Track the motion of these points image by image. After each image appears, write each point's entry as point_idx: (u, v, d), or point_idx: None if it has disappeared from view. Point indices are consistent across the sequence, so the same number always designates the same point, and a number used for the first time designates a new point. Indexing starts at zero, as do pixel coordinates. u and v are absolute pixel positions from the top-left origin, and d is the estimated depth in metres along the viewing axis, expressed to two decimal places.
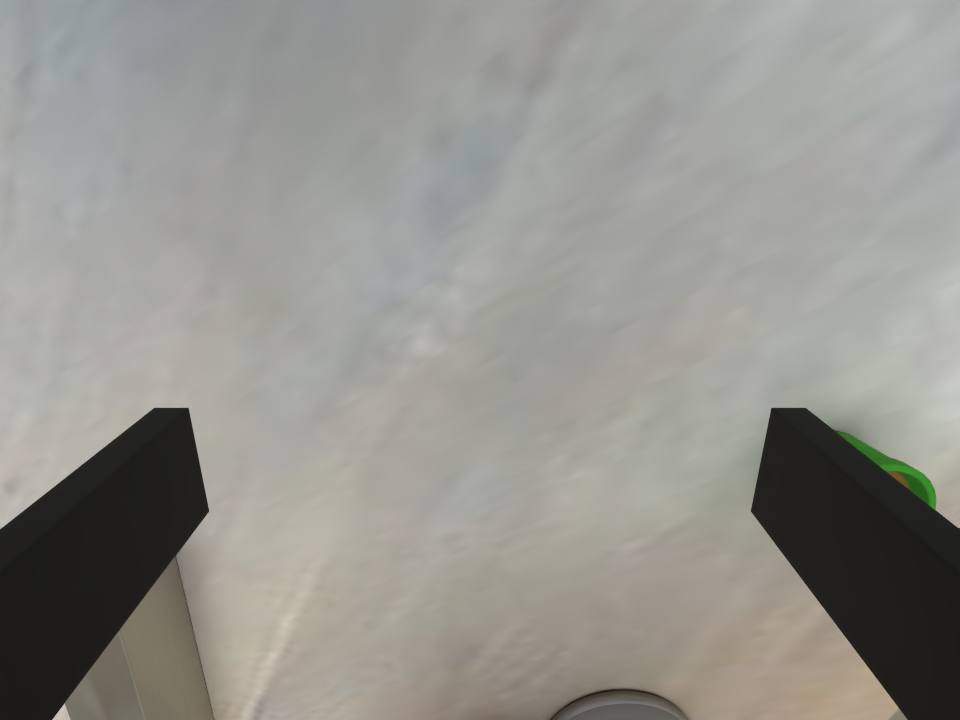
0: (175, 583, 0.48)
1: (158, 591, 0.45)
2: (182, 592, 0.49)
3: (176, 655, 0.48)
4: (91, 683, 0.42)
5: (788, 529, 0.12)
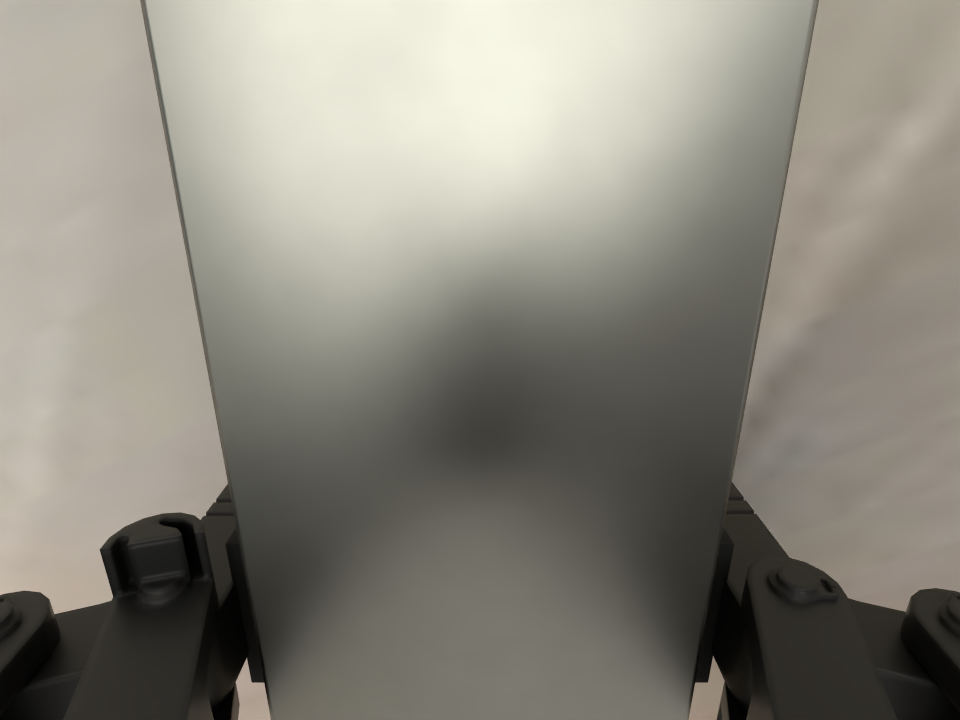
0: None
1: None
2: None
3: None
4: None
5: None
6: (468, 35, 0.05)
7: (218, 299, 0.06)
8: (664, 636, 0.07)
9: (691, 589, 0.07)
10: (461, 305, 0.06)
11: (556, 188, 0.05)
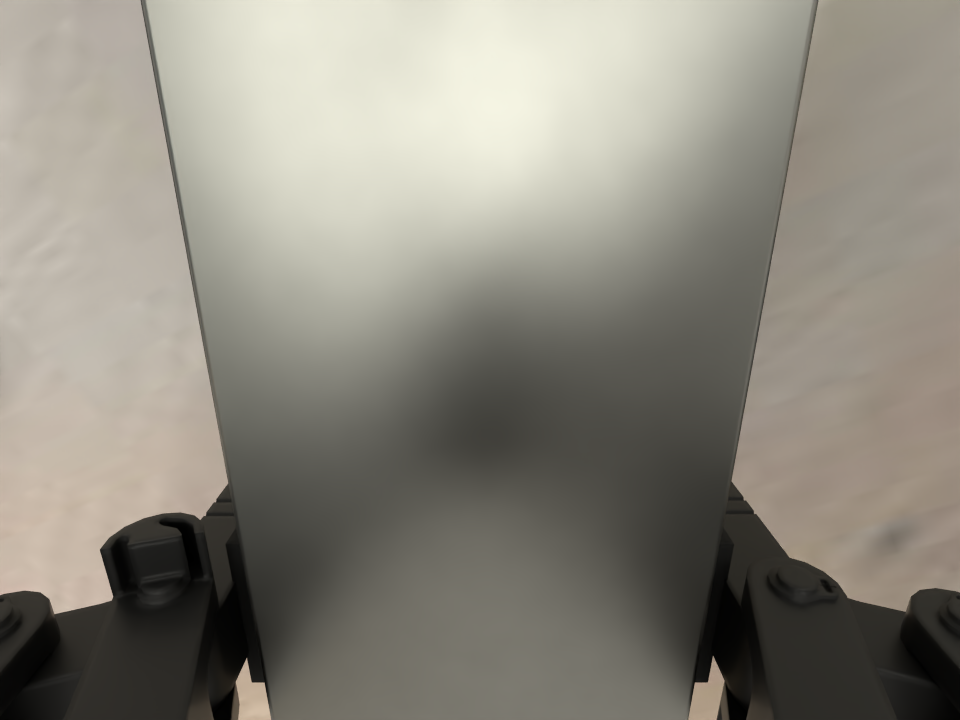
0: None
1: None
2: None
3: None
4: None
5: None
6: (468, 34, 0.05)
7: (218, 298, 0.06)
8: (664, 636, 0.07)
9: (691, 588, 0.07)
10: (461, 304, 0.06)
11: (555, 189, 0.05)
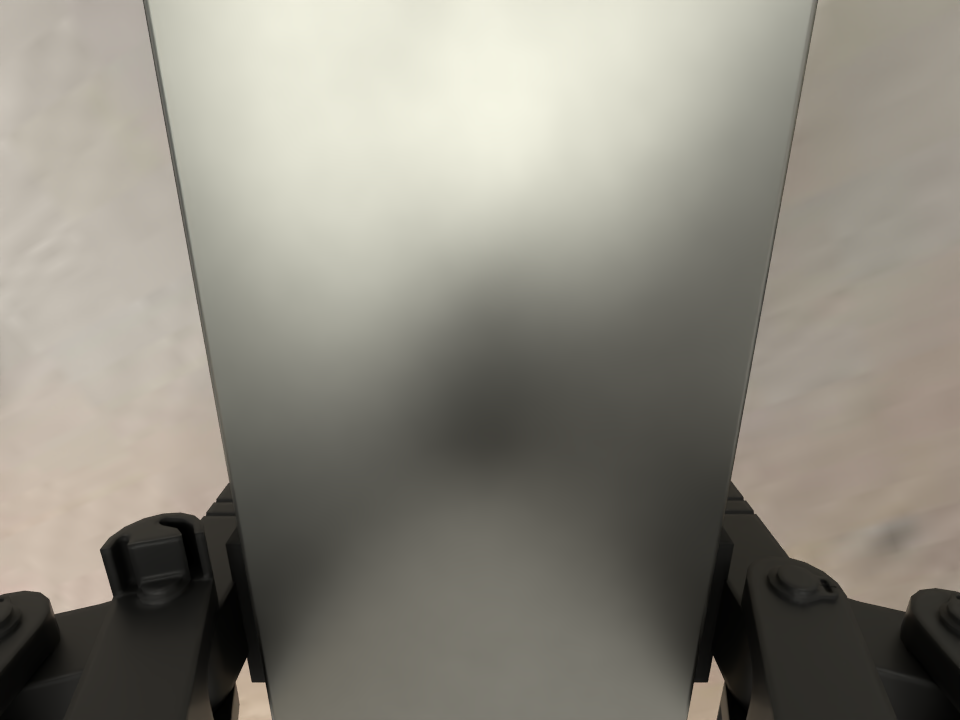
0: None
1: None
2: None
3: None
4: None
5: None
6: (469, 34, 0.05)
7: (220, 297, 0.06)
8: (664, 634, 0.07)
9: (690, 587, 0.07)
10: (462, 302, 0.06)
11: (556, 187, 0.05)
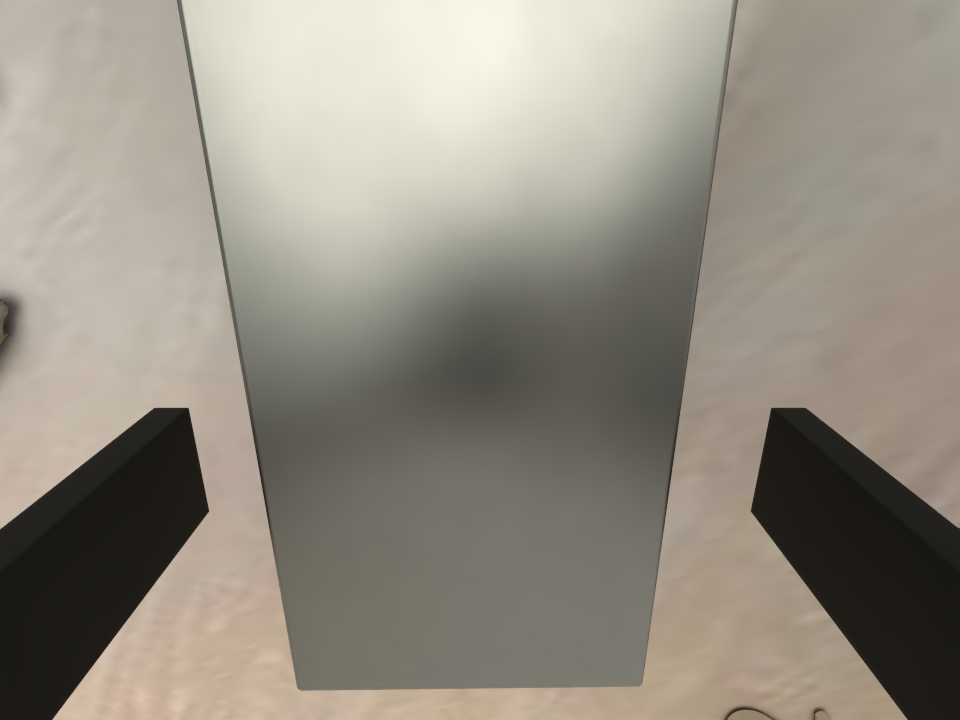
0: None
1: None
2: None
3: None
4: None
5: (788, 529, 0.12)
6: None
7: (228, 174, 0.06)
8: (633, 499, 0.08)
9: (655, 452, 0.08)
10: (445, 177, 0.06)
11: (526, 67, 0.06)
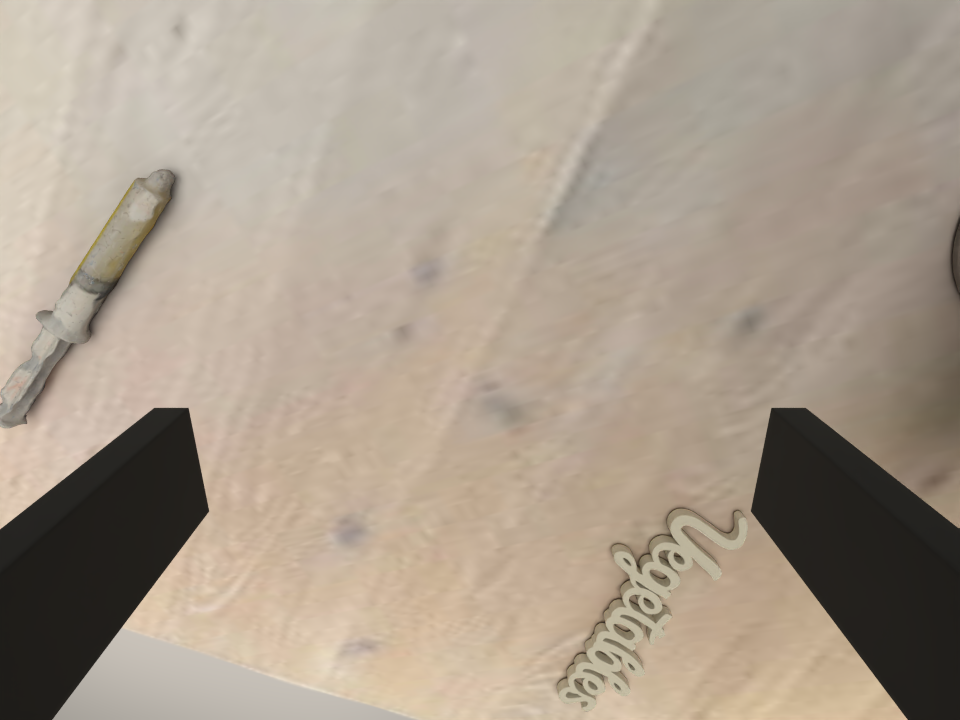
0: None
1: None
2: None
3: None
4: None
5: (788, 529, 0.12)
6: None
7: None
8: None
9: None
10: None
11: None
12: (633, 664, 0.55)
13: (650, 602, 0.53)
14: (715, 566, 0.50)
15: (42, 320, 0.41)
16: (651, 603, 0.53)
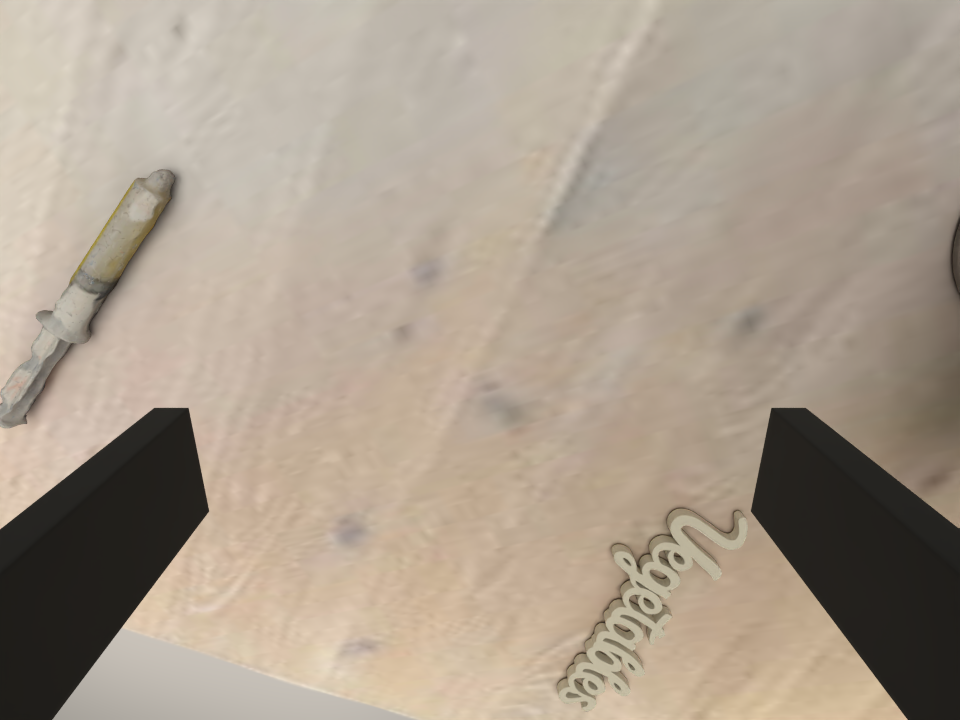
0: None
1: None
2: None
3: None
4: None
5: (788, 529, 0.12)
6: None
7: None
8: None
9: None
10: None
11: None
12: (633, 664, 0.55)
13: (650, 602, 0.53)
14: (715, 566, 0.50)
15: (42, 320, 0.41)
16: (651, 603, 0.53)
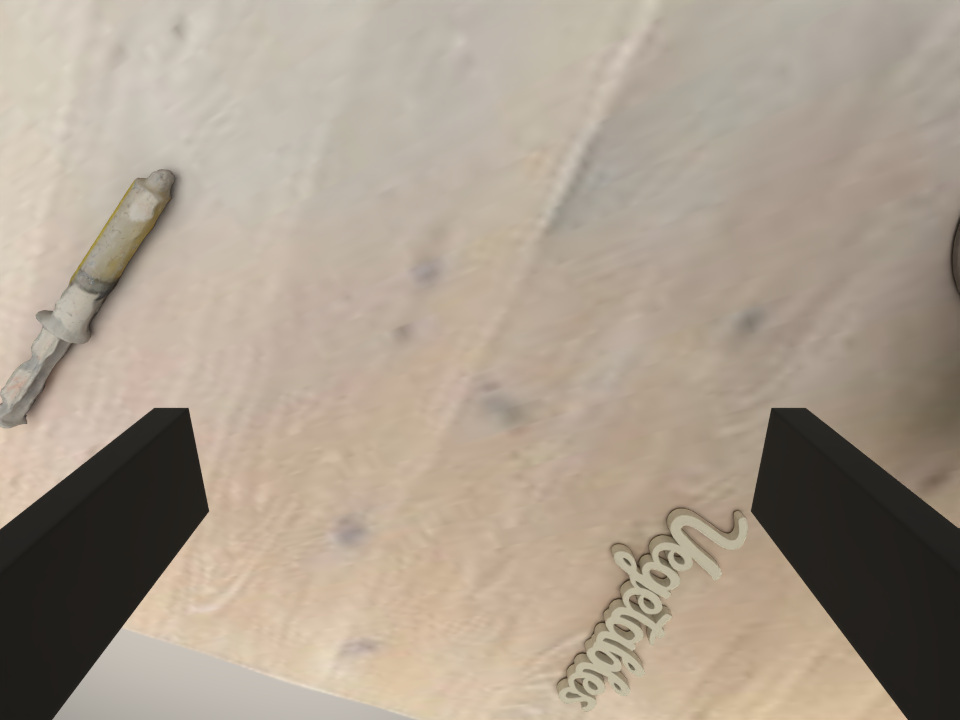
0: None
1: None
2: None
3: None
4: None
5: (788, 529, 0.12)
6: None
7: None
8: None
9: None
10: None
11: None
12: (633, 664, 0.55)
13: (650, 602, 0.53)
14: (715, 566, 0.50)
15: (42, 320, 0.41)
16: (651, 603, 0.53)
